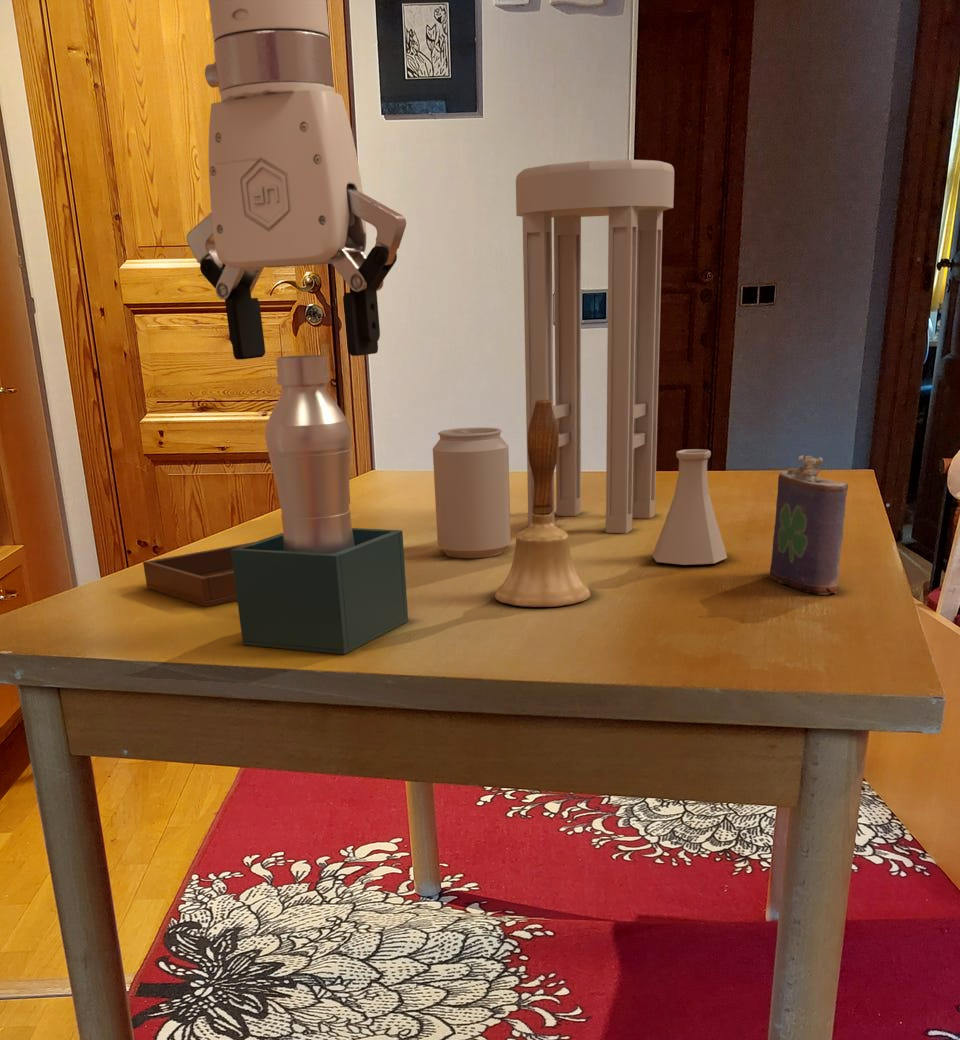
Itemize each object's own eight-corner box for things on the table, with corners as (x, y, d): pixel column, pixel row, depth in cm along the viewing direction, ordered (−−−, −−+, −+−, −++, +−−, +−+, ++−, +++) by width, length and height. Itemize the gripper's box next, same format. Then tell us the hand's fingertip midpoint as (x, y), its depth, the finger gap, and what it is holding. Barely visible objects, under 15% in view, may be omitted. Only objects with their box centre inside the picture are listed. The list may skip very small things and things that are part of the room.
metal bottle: (379, 619, 95) (359, 352, 86) (349, 641, 89) (324, 358, 81) (306, 616, 97) (279, 355, 88) (272, 638, 91) (239, 360, 82)
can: (512, 558, 117) (509, 431, 111) (437, 561, 117) (430, 434, 111) (509, 543, 123) (506, 423, 118) (438, 546, 123) (432, 426, 118)
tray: (205, 607, 103) (201, 578, 102) (146, 588, 110) (142, 561, 109) (355, 575, 112) (353, 549, 111) (291, 560, 120) (289, 535, 119)
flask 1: (731, 553, 115) (737, 446, 111) (722, 568, 109) (728, 456, 104) (658, 551, 117) (661, 446, 113) (645, 566, 111) (647, 456, 107)
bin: (344, 654, 87) (335, 555, 84) (242, 644, 91) (230, 549, 88) (408, 621, 96) (402, 530, 92) (312, 613, 99) (304, 525, 96)
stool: (504, 532, 130) (494, 168, 114) (552, 508, 142) (548, 178, 127) (639, 537, 124) (647, 154, 109) (676, 512, 137) (688, 167, 121)
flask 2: (844, 593, 98) (856, 460, 94) (812, 597, 98) (823, 463, 93) (789, 572, 106) (798, 448, 102) (760, 575, 106) (767, 451, 101)
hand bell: (561, 581, 106) (560, 394, 100) (608, 599, 100) (610, 399, 93) (479, 593, 103) (471, 401, 96) (521, 613, 97) (517, 407, 90)
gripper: (135, 84, 78) (177, 363, 85) (360, 50, 71) (385, 357, 78) (203, 96, 84) (237, 356, 91) (418, 66, 77) (435, 349, 84)
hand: (305, 356), depth 85 cm, fingers open, 9 cm apart
